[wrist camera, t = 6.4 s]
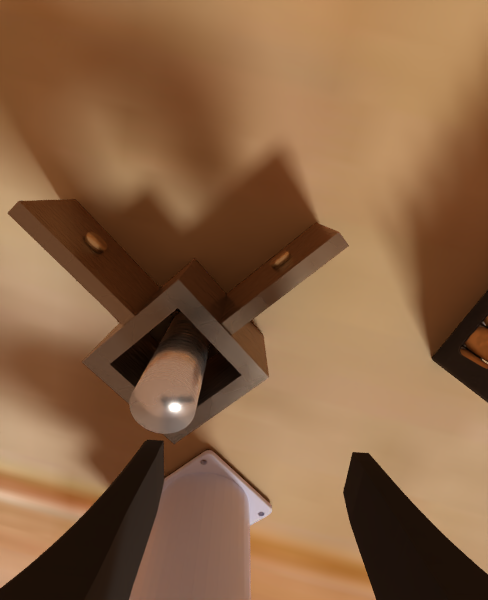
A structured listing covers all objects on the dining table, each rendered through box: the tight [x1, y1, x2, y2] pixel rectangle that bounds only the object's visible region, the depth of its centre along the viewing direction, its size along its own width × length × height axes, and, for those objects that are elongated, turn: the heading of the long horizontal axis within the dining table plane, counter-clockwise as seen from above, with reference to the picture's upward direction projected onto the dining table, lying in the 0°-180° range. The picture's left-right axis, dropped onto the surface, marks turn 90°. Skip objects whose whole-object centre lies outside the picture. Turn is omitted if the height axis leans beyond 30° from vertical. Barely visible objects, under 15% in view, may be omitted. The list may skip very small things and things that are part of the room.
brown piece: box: [8, 199, 349, 444], centre depth 17 cm, size 14×14×5 cm
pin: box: [129, 312, 211, 434], centre depth 17 cm, size 3×3×8 cm
